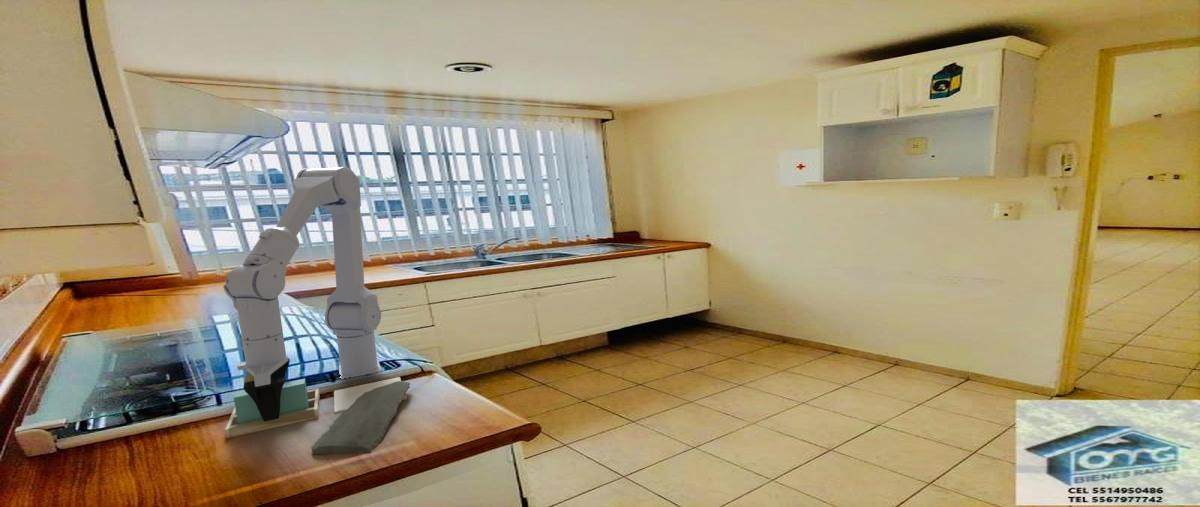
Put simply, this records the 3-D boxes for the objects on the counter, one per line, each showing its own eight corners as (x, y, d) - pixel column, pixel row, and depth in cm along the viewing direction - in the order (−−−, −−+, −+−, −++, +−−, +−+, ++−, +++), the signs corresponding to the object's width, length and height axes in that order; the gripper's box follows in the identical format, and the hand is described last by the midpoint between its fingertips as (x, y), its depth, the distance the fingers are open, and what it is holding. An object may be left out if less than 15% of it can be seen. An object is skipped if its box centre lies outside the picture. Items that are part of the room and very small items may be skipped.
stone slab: (308, 465, 72) (376, 453, 73) (304, 449, 72) (372, 436, 73) (365, 395, 94) (417, 386, 95) (362, 382, 94) (413, 373, 94)
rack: (237, 415, 87) (235, 405, 87) (319, 397, 93) (318, 388, 93) (226, 441, 78) (224, 429, 78) (318, 419, 85) (317, 408, 84)
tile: (334, 394, 94) (334, 390, 94) (400, 380, 100) (399, 376, 100) (334, 415, 86) (334, 411, 86) (406, 399, 91) (406, 395, 91)
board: (241, 425, 83) (236, 392, 82) (309, 409, 87) (305, 378, 86) (239, 431, 80) (233, 397, 79) (308, 415, 85) (304, 383, 84)
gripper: (240, 328, 86) (251, 399, 88) (225, 352, 73) (238, 435, 75) (287, 321, 89) (297, 390, 91) (280, 343, 77) (291, 423, 79)
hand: (273, 410), depth 84 cm, fingers open, 7 cm apart
